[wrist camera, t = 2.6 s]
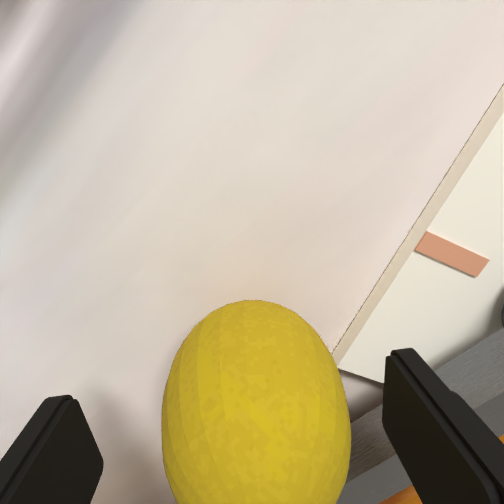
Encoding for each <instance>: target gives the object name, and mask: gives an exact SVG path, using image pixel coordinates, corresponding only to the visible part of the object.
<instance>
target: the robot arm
mask: <svg viewBox="0 0 504 504" xmlns="http://www.w3.org/2000/svg"><path fill="white" fill-rule="evenodd" d="M382 424H383V428H384V431H385V433H386V435H387V437H388V439H389V440H390V442H391V444H392V446H393V448H394V450H395V452H396V454H397V456H398V457H399V459H400V461H401V463H402V465H403V467H404V469H405V471H406V473H407V475H408V476H409V478H410V480H411V482H412V484H413V486H414V488H415V490H416V492H417V494H418V495H419V497H420V499H421V501H422V503H423V504H504V444H503V443H502V442H501V441H500V440H499V438H498V437H497V436H496V435H495V434H494V433H493V432H492V431H491V429H490V428H489V427H488V426H487V425H486V424H485V423H484V422H483V421H482V419H481V418H480V417H479V416H478V415H477V414H476V413H475V412H474V411H473V409H472V408H471V407H470V406H469V405H468V404H467V403H466V402H465V400H464V399H463V398H462V397H461V396H460V395H458V394H457V393H456V392H454V391H450V389H449V388H448V387H447V386H446V385H445V384H444V383H443V381H442V380H441V379H440V378H439V377H438V376H437V375H436V373H435V372H434V371H433V370H432V369H431V368H430V367H429V365H428V364H427V363H426V362H425V361H424V360H423V359H422V357H421V356H420V355H419V354H418V353H417V352H416V351H415V350H414V349H413V348H404V349H397V350H392V351H391V353H390V356H386V359H385V375H384V391H383V408H382ZM102 471H103V458H102V456H101V453H100V451H99V449H98V446H97V444H96V442H95V439H94V437H93V435H92V432H91V430H90V428H89V425H88V423H87V421H86V418H85V416H84V414H83V411H82V409H81V407H80V404H79V402H78V401H77V400H76V399H73V398H72V396H70V395H62V396H55V397H48V398H47V399H45V400H44V401H43V402H42V404H41V405H40V407H39V408H38V409H37V411H36V412H35V413H34V415H33V416H32V418H31V419H30V420H29V422H28V423H27V425H26V426H25V427H24V429H23V430H22V432H21V433H20V434H19V436H18V437H17V439H16V440H15V441H14V443H13V444H12V445H11V447H10V448H9V450H8V451H7V452H6V454H5V455H4V457H3V458H2V459H1V461H0V504H90V503H91V500H92V498H93V495H94V493H95V490H96V487H97V485H98V482H99V480H100V477H101V475H102Z"/></svg>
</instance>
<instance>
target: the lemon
mask: <svg viewBox="0 0 504 504" xmlns="http://www.w3.org/2000/svg"><path fill="white" fill-rule="evenodd" d="M161 424H162V452H163V462H164V468H165V473H166V476H167V479H168V482H169V484H170V487H171V490H172V492H173V494H174V497H175V499H176V502H177V504H336V502H337V500H338V498H339V496H340V494H341V491H342V489H343V487H344V484H345V482H346V478H347V474H348V469H349V461H350V452H351V425H350V416H349V410H348V405H347V400H346V396H345V392H344V388H343V384H342V380H341V377H340V373H339V370H338V368H337V365H336V363H335V361H334V359H333V357H332V355H331V353H330V352H329V350H328V349H327V347H326V345H325V344H324V342H323V341H322V339H321V338H320V336H319V335H318V333H317V332H316V331H315V330H314V329H313V328H312V327H311V326H310V325H309V324H308V323H307V322H306V321H305V320H303V319H302V318H301V317H300V316H299V315H298V314H296V313H295V312H293V311H291V310H289V309H287V308H285V307H283V306H281V305H279V304H275V303H271V302H266V301H261V300H244V301H239V302H235V303H231V304H227V305H225V306H223V307H221V308H219V309H217V310H215V311H213V312H211V313H210V314H209V315H208V316H207V317H205V318H204V319H203V320H202V321H201V322H199V323H198V324H197V325H196V326H195V327H194V328H193V329H192V331H191V332H190V333H189V335H188V336H187V338H186V339H185V341H184V342H183V344H182V345H181V347H180V348H179V350H178V352H177V354H176V356H175V358H174V361H173V364H172V367H171V370H170V373H169V377H168V380H167V383H166V387H165V391H164V396H163V404H162V417H161Z"/></svg>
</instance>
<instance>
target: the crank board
mask: <svg viewBox="0 0 504 504" xmlns="http://www.w3.org/2000/svg"><path fill="white" fill-rule="evenodd" d="M503 304H504V85H503V86H502V88H501V90H500V91H499V93H498V94H497V96H496V97H495V99H494V101H493V102H492V104H491V105H490V107H489V108H488V110H487V112H486V113H485V115H484V116H483V118H482V119H481V121H480V123H479V124H478V126H477V127H476V129H475V130H474V132H473V134H472V135H471V137H470V138H469V140H468V141H467V143H466V145H465V146H464V148H463V149H462V151H461V152H460V154H459V155H458V157H457V159H456V160H455V162H454V163H453V165H452V166H451V168H450V170H449V171H448V173H447V174H446V176H445V177H444V179H443V181H442V182H441V184H440V185H439V187H438V188H437V190H436V192H435V193H434V195H433V196H432V198H431V199H430V201H429V203H428V204H427V206H426V207H425V209H424V210H423V212H422V214H421V215H420V217H419V218H418V220H417V221H416V223H415V225H414V226H413V228H412V229H411V231H410V232H409V234H408V236H407V237H406V239H405V240H404V242H403V243H402V245H401V247H400V248H399V250H398V251H397V253H396V254H395V256H394V258H393V259H392V261H391V262H390V264H389V265H388V267H387V269H386V270H385V272H384V273H383V275H382V276H381V278H380V280H379V281H378V283H377V284H376V286H375V287H374V289H373V291H372V292H371V294H370V295H369V297H368V298H367V300H366V302H365V303H364V305H363V306H362V308H361V309H360V311H359V313H358V314H357V316H356V317H355V319H354V320H353V322H352V324H351V325H350V327H349V328H348V330H347V331H346V333H345V335H344V336H343V338H342V339H341V341H340V342H339V344H338V346H337V347H336V349H335V350H334V352H333V353H332V357H333V359H334V361H335V363H336V365H337V368H339V369H342V370H345V371H348V372H351V373H354V374H357V375H360V376H363V377H366V378H369V379H372V380H375V381H378V382H381V383H384V375H385V359H386V356H390V353H391V351H392V350H397V349H404V348H413V349H414V350H415V351H416V352H417V353H418V354H419V355H420V356H421V357H422V359H423V360H424V361H425V362H426V363H427V364H428V365H429V367H430V368H431V369H432V370H433V371H435V370H436V369H438V368H439V367H441V366H442V365H444V364H446V363H447V362H449V361H450V360H452V359H454V358H455V357H457V356H458V355H460V354H462V353H463V352H465V351H466V350H468V349H469V348H471V347H473V346H474V345H476V344H477V343H479V342H481V341H482V340H484V339H485V338H487V337H488V336H490V335H492V334H493V333H495V332H496V331H498V330H500V329H501V328H503V325H502V320H501V314H502V308H503Z"/></svg>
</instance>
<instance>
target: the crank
mask: <svg viewBox="0 0 504 504" xmlns="http://www.w3.org/2000/svg"><path fill="white" fill-rule="evenodd" d="M501 320H502V325H503V328H501V329H500V330H498V331H496V332H495V333H493V334H492V335H490V336H488V337H487V338H485V339H484V340H482V341H481V342H479V343H477V344H476V345H474V346H473V347H471V348H469V349H468V350H466V351H465V352H463V353H462V354H460V355H458V356H457V357H455V358H454V359H452V360H450V361H449V362H447V363H446V364H444V365H442V366H441V367H439V368H438V369H436V370H435V371H434V372H435V373H436V375H437V376H438V377H439V378H440V379H441V380H442V381H443V383H444V384H445V385H446V386H447V387H448V388H449V389H450V391H454V392H456V393H457V394H458V395H460V396H461V397H462V398H463V399H464V400H465V402H466V403H467V404H468V405H469V406H470V407H471V408H472V409H473V411H474V412H475V413H476V414H477V415H478V416H479V417H480V418H481V419H482V421H483V422H484V423H485V424H486V425H487V426H488V427H489V428H490V429H491V431H492V432H493V433H494V434H495V435H496V436H497V437H500V436H501V435H503V434H504V304H503V308H502V314H501ZM382 408H383V403H382V404H381V405H379V406H377V407H376V408H374V409H373V410H371V411H369V412H368V413H366V414H365V415H363V416H362V417H360V418H358V419H357V420H355V421H354V422H352V423H350V425H351V452H350V461H349V469H348V474H347V478H346V482H345V484H344V487H343V489H342V491H341V494H340V496H339V498H338V500H337V502H336V504H378V503H380V502H382V501H383V500H385V499H387V498H389V497H391V496H393V495H394V494H396V493H398V492H400V491H402V490H403V489H405V488H407V487H409V486H411V485H413V484H412V482H411V480H410V478H409V476H408V475H407V473H406V471H405V469H404V467H403V465H402V463H401V461H400V459H399V457H398V456H397V454H396V452H395V450H394V448H393V446H392V444H391V442H390V440H389V439H388V437H387V435H386V433H385V431H384V428H383V424H382Z"/></svg>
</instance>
